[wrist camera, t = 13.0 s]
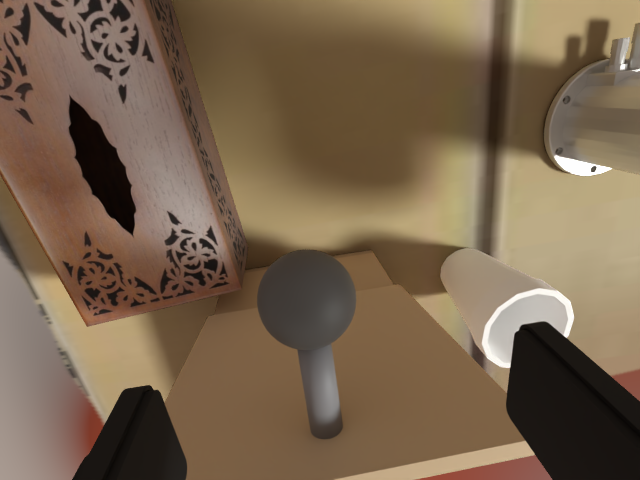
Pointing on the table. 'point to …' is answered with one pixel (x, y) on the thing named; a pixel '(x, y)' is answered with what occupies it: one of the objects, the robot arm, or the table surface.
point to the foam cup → (500, 301)
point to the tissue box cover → (115, 155)
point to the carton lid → (334, 387)
